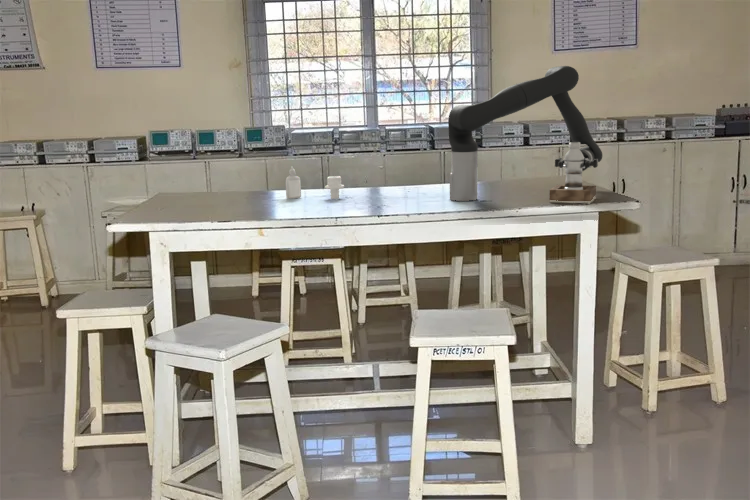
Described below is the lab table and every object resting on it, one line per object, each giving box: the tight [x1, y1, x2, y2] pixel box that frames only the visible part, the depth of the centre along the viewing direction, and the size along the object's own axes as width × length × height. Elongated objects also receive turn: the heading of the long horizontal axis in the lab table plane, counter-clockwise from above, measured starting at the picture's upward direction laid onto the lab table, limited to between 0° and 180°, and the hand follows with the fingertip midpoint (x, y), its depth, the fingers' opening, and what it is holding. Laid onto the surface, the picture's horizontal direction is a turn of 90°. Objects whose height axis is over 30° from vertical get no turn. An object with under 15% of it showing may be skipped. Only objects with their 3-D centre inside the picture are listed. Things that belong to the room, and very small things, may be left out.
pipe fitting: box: [324, 175, 345, 200], centre depth 277 cm, size 6×7×8 cm
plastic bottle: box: [563, 141, 584, 190], centre depth 255 cm, size 6×7×20 cm
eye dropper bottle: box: [285, 165, 302, 200], centre depth 280 cm, size 4×6×12 cm
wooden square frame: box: [549, 184, 597, 201], centre depth 256 cm, size 14×14×4 cm
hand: (573, 164), depth 253 cm, fingers open, 8 cm apart
